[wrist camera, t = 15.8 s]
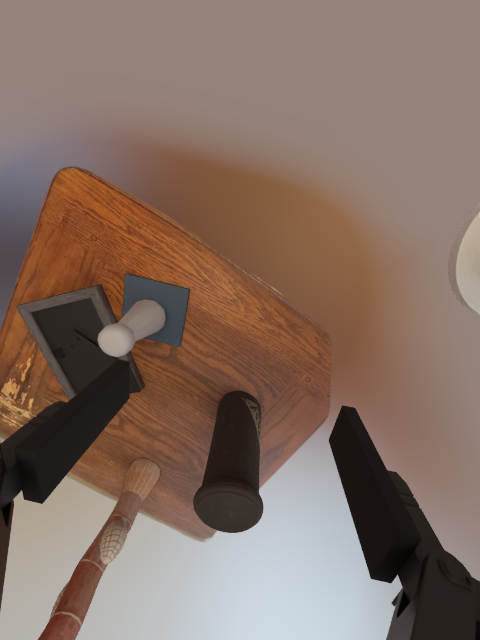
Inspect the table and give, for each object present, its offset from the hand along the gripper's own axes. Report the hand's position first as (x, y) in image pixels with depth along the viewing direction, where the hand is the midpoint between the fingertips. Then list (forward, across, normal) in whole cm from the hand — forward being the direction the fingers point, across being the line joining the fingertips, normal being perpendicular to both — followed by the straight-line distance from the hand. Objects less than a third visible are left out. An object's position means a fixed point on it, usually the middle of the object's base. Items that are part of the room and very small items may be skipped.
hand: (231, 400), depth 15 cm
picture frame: (+27, -29, -16) cm, 43 cm away
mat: (+27, -16, -6) cm, 32 cm away
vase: (+27, -17, -46) cm, 57 cm away
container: (+28, +2, -23) cm, 36 cm away
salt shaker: (+27, -16, -6) cm, 32 cm away
